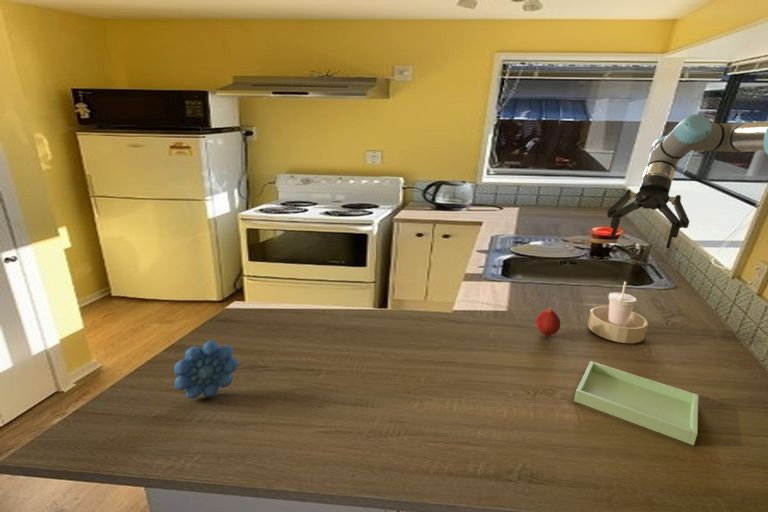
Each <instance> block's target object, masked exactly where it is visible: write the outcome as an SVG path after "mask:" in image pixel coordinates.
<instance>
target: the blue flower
mask: <svg viewBox="0 0 768 512" xmlns="http://www.w3.org/2000/svg"><path fill="white" fill-rule="evenodd" d="M233 353H234V349H233V347H232V346H231V345H228V344H225V345H221V346H219V343H218V342H217V341H216V340H208V341H206V342H205V343H204V344H203V345H202V347H201V348H200V347H199V346H198V345H194V346H191V347H189V348H188V349H186V351H185V353H184V358H183V359H181V360H178V361H177V362H176V363H175V364H174V366H173V372H174V374H175V375H176V376H177V377H176V378H175V380H174V388H175V389H176V390H179V391H184V390H185V396H186V397H187V398H188V399H193V400H194V399H197V398H198V397H200V396H201V394H202V395H203V396H204V397H205V398H213V397H215V396H217V393H218V392H219V390H220V388H227V387H229V386H230V385H231V384H232V382H233V379H234V377H233V376H234V375H233V373H234V372H236V370H237V369H238V368H239V360H238V359H237V358H235V357H232V356H233Z"/></svg>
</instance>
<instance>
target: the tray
mask: <svg viewBox="0 0 768 512" xmlns="http://www.w3.org/2000/svg"><path fill="white" fill-rule="evenodd" d="M574 394H575V395H574V399H573V402H575V403H578V404H581V405H583V406H586V407H588V408H591V409H593V410H597V411H600V412H601V413H605V414H608V415H610V416H613V417H616V418H618V419H622V420H623V421H627V422H630V423H632V424H635V425H637V426H640V427H643V428H646V429H648V430H651V431H654V432H656V433H658V434H662V435H664V436H667V437H669V438H673V439H676V440H678V441H681V442H683V443H686V444H689V445H691V446H695V444H696V440H697V437H698V430H699V429H698V428H699V427H698V426H699V394H698V393H693V392H691V391H688V390H685V389H681V388H678V387H675V386H672V385H669V384H665V383H662V382H660V381H656V380H654V379H649V378H646V377H644V376H640V375H636V374H633V373H631V372H627V371H624V370H621V369H618V368H615V367H611V366H609V365H604V364H602V363H599V362H595V361H592V360H590V361H589V362H588V365H587V367H586V370H585V371H584V374H583V376H582V378H581V380H580V382H579V384H578V385H577V387H576V390H575V393H574Z"/></svg>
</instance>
